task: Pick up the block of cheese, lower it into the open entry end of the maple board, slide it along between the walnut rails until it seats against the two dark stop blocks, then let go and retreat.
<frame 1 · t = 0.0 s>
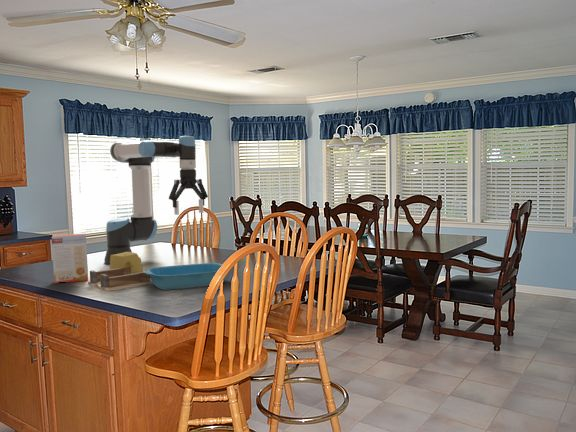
hand: (189, 213, 247), 28 cm above the table, tool pointing down, fingers open, 13 cm apart
cracker box: (71, 281, 231), on the table
cheese: (126, 275, 244), on the table
slot board: (128, 282, 227), on the table
casserole dish: (189, 284, 223), on the table
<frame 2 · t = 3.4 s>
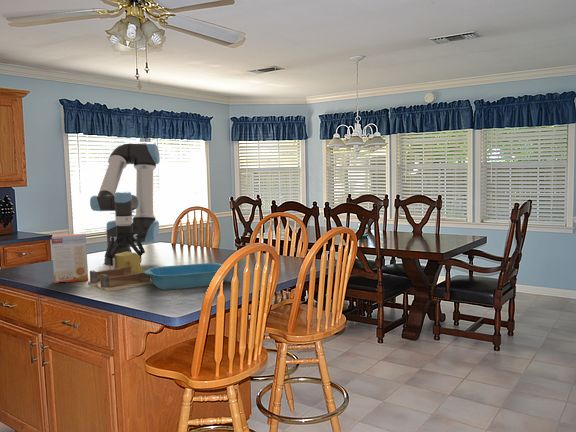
hand: (125, 270, 244), 2 cm above the table, tool pointing down, fingers closed on cheese, 12 cm apart
cheese: (126, 274, 244), on the table, touching gripper
everything else where it was.
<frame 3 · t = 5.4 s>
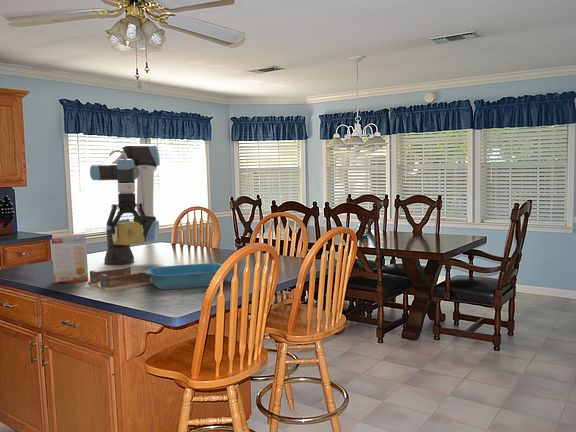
hand: (128, 239, 239), 17 cm above the table, tool pointing down, fingers closed on cheese, 12 cm apart
cheese: (128, 244, 239), point 15 cm above the table, touching gripper
casserole dish: (189, 284, 223), on the table, touching slot board
everything else where it was.
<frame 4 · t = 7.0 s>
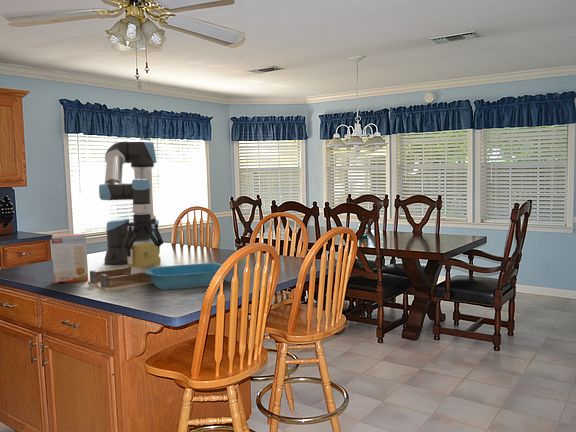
hand: (143, 262, 231), 8 cm above the table, tool pointing down, fingers closed on cheese, 12 cm apart
cheese: (143, 266, 231), point 6 cm above the table, touching gripper
casserole dish: (189, 284, 223), on the table
everything else where it was.
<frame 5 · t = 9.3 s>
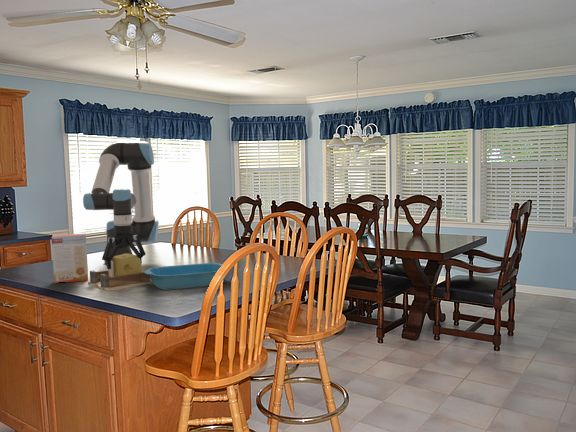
hand: (125, 274, 226), 4 cm above the table, tool pointing down, fingers closed on cheese, 12 cm apart
cheese: (125, 278, 226), point 2 cm above the table, touching gripper
everything else where it was.
when the fingers open (4 cm above the table, at t = 10.9 s): cheese stays where it is, resting on slot board.
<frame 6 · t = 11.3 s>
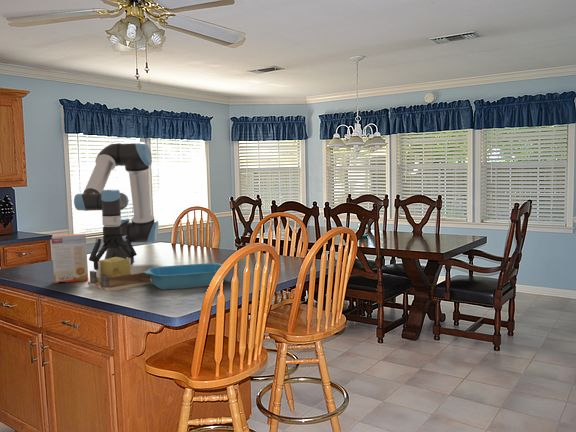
hand: (114, 274, 222), 4 cm above the table, tool pointing down, fingers open, 13 cm apart
cheese: (114, 282, 223), point 1 cm above the table, touching slot board
everything else where it was.
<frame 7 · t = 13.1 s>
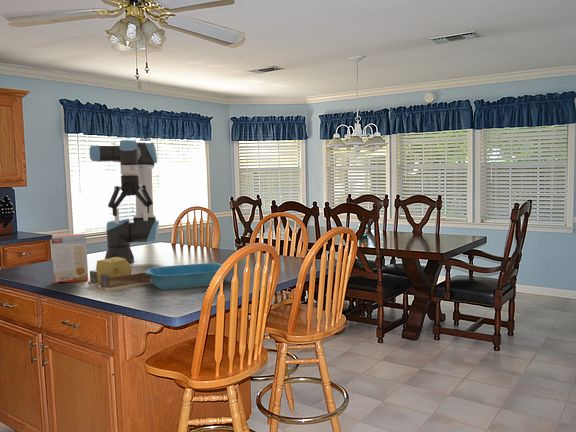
hand: (131, 222, 233), 26 cm above the table, tool pointing down, fingers open, 13 cm apart
nothing on the table moved.
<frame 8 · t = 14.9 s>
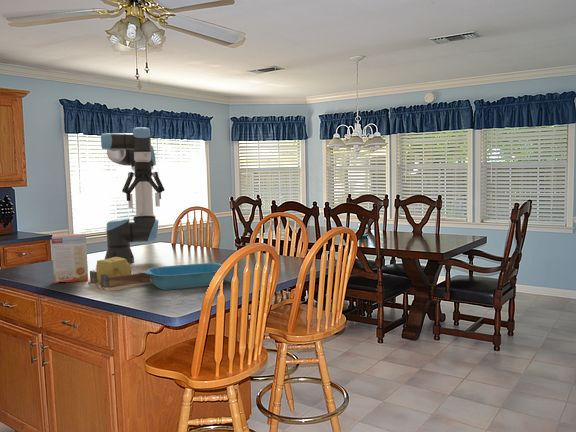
hand: (144, 207, 241), 32 cm above the table, tool pointing down, fingers open, 13 cm apart
nothing on the table moved.
at the end: cheese inside the target area (0.2 cm from its centre), point 0.8 cm above the table; cheese tilted 0°; the gripper is holding nothing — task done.
